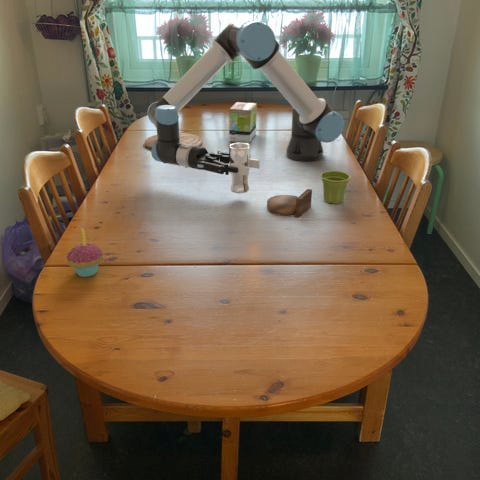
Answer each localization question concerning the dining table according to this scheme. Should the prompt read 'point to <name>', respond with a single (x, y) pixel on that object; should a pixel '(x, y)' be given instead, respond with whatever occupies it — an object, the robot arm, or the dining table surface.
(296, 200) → the walnut base
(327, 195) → the plant pot
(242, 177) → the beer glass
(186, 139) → the trivet
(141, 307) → the dining table surface
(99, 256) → the cupcake
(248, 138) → the tea box
